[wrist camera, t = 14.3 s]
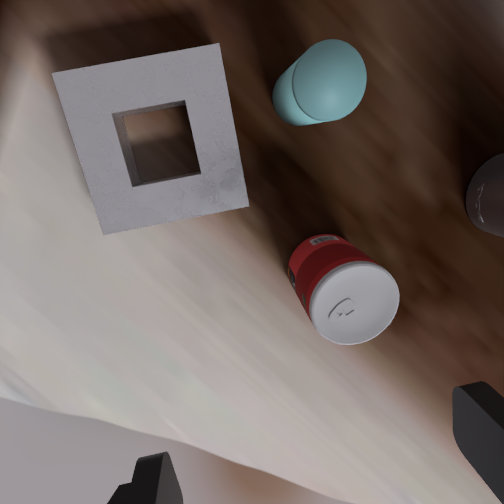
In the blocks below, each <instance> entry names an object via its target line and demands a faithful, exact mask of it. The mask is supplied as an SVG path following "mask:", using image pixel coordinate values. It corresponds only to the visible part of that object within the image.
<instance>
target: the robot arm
mask: <svg viewBox="0 0 504 504" xmlns="http://www.w3.org/2000/svg"><path fill="white" fill-rule="evenodd" d="M466 210H467V213H468V216H469V218H470V219H471V221H472V222H473V224H475V225H476V226H477V227H478V228H479V229H481V230H483V231H486V232H489V233H492V234H495V235H498V236H501V237H504V153H501V154H499V155H496V156H494V157H492V158H491V159H489V160H488V161H486V162H485V163H484V164H483V165H482V166H481V167H480V168H479V169H478V170H477V172H476V173H475V174H474V176H473V178H472V180H471V182H470V184H469V186H468V190H467V193H466ZM452 396H453V434H454V437H455V440H456V443H457V445H458V447H459V449H460V451H461V452H462V454H463V455H464V456H465V458H466V459H467V460H468V461H469V463H470V464H471V465H472V466H473V468H474V469H475V470H476V471H477V473H478V474H479V475H480V476H481V478H482V479H483V480H484V481H485V483H486V484H487V485H488V486H489V488H490V489H491V490H492V491H493V493H494V494H495V495H496V496H497V498H498V499H499V500H500V501H501V503H502V504H504V398H503V397H502V396H501V395H500V394H499V393H498V392H497V391H496V390H494V389H493V388H492V387H491V386H490V385H489V384H487V383H485V382H483V381H480V382H476V383H471V384H467V385H463V386H458V387H455V388H454V389H453V394H452ZM107 504H183V497H182V493H181V489H180V486H179V483H178V480H177V477H176V474H175V471H174V468H173V465H172V462H171V458H170V456H169V454H168V452H163V453H159V454H154V455H150V456H145V457H141V458H139V459H138V460H137V462H136V466H135V470H134V474H133V478H132V482H131V483H127V484H122V485H119V486H118V488H117V490H116V491H115V493H114V494H113V496H112V497H111V499H110V500H109V502H108V503H107Z"/></svg>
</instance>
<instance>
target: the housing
mask: <svg viewBox="0 0 504 504" xmlns="http://www.w3.org/2000/svg"><path fill="white" fill-rule="evenodd" d="M52 76H53V80H54V83H55V86H56V89H57V92H58V95H59V98H60V101H61V104H62V108H63V111H64V114H65V117H66V120H67V123H68V126H69V129H70V132H71V136H72V139H73V142H74V145H75V148H76V151H77V154H78V157H79V160H80V164H81V167H82V170H83V173H84V176H85V179H86V182H87V185H88V188H89V192H90V195H91V198H92V201H93V204H94V207H95V210H96V213H97V216H98V220H99V223H100V226H101V229H102V232H103V235H107V234H112V233H117V232H122V231H127V230H132V229H137V228H142V227H147V226H152V225H157V224H162V223H167V222H172V221H177V220H182V219H187V218H192V217H197V216H202V215H207V214H212V213H217V212H222V211H227V210H232V209H237V208H243V207H248V206H249V202H248V196H247V191H246V186H245V180H244V175H243V169H242V164H241V159H240V153H239V148H238V142H237V137H236V132H235V126H234V121H233V116H232V110H231V105H230V99H229V94H228V89H227V83H226V78H225V73H224V67H223V62H222V56H221V51H220V46H219V43H217V44H211V45H206V46H200V47H195V48H189V49H184V50H178V51H172V52H167V53H161V54H156V55H150V56H145V57H139V58H133V59H128V60H122V61H117V62H111V63H105V64H100V65H94V66H89V67H83V68H78V69H72V70H66V71H61V72H55V73H52ZM183 105H186V107H187V111H188V116H189V120H190V125H191V129H192V134H193V138H194V143H195V147H196V152H197V156H198V161H199V165H200V170H201V171H199V172H194V173H189V174H183V175H178V176H173V177H168V178H163V179H158V180H153V181H147V182H142V183H141V181H140V178H139V174H138V170H137V167H136V163H135V159H134V156H133V152H132V149H131V145H130V141H129V138H128V134H127V130H126V127H125V123H124V119H123V117H124V116H130V115H135V114H140V113H146V112H151V111H156V110H162V109H167V108H173V107H178V106H183Z"/></svg>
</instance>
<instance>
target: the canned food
mask: <svg viewBox="0 0 504 504" xmlns="http://www.w3.org/2000/svg"><path fill="white" fill-rule="evenodd" d="M288 277H289V280H290V283H291V285H292V287H293V289H294V290H295V292H296V294H297V296H298V298H299V300H300V302H301V304H302V305H303V307H304V309H305V311H306V313H307V315H308V317H309V318H310V320H311V322H312V323H313V325H314V327H315V329H316V330H317V331H318V332H319V333H320V334H321V335H322V336H323V337H324V338H326V339H327V340H329V341H331V342H334V343H336V344H342V345H354V344H359V343H363V342H365V341H368V340H370V339H372V338H374V337H376V336H377V335H378V334H380V333H381V332H382V331H383V330H384V329H385V328H386V327H387V326H388V325H389V324H390V322H391V321H392V319H393V318H394V316H395V314H396V311H397V309H398V304H399V290H398V286H397V284H396V282H395V280H394V278H393V277H392V276H391V275H390V274H389V272H388V271H387V270H385V269H384V268H383V267H382V266H380V265H379V264H378V263H377V262H375V261H374V260H372V259H371V258H370V257H368V256H367V255H365V254H364V253H363V252H361V251H360V250H358V249H357V248H356V247H354V246H353V245H352V244H350V243H349V242H347V241H346V240H345V239H343V238H341V237H339V236H336V235H332V234H321V235H315V236H312V237H310V238H308V239H306V240H304V241H303V242H302V243H301V244H299V245H298V246H297V248H296V249H295V250H294V252H293V253H292V255H291V258H290V261H289V264H288Z"/></svg>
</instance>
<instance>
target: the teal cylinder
mask: <svg viewBox="0 0 504 504" xmlns="http://www.w3.org/2000/svg"><path fill="white" fill-rule="evenodd" d="M366 80H367V78H366V68H365V65H364V62H363V59H362V58H361V56H360V54H359V53H358V52H357V50H356V49H355V48H354V47H352V46H351V45H350V44H348V43H346V42H343V41H341V40H334V39H330V40H324V41H321V42H319V43H316V44H315V45H313V46H312V47H310V48H309V49H308V50H307V51H306V52H305V53H304V54H303V55H302V56H301V57H300V58H299V59H298V60H297V61H295V62H294V63H293V64H292V65H291V66H290V67H289V68H288V69H287V70H286V71H285V72H284V73H283V74H282V75H281V76H280V77H279V78H278V80H277V82H276V83H275V86H274V89H273V96H272V99H273V105H274V108H275V111H276V113H277V114H278V116H279V117H280V118H281V119H282V120H283V121H285V122H286V123H288V124H291V125H295V126H302V125H308V124H314V123H320V122H327V121H333V120H337V119H340V118H343V117H345V116H346V115H348V114H349V113H351V112H352V111H353V110H354V109H355V108H356V107H357V105H358V104H359V102H360V101H361V99H362V97H363V94H364V91H365V87H366Z"/></svg>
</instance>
